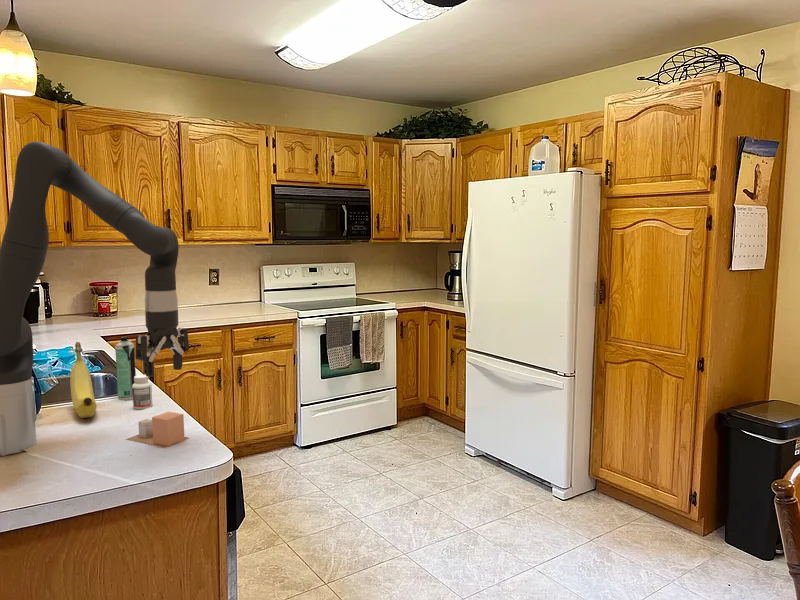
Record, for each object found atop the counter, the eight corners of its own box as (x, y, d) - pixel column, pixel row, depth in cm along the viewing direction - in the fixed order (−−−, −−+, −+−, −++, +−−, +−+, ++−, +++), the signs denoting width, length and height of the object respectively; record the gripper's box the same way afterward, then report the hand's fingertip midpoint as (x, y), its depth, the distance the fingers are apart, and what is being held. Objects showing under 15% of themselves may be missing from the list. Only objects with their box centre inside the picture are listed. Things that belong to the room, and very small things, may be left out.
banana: (101, 422, 164) (96, 352, 161) (77, 426, 161) (72, 354, 158) (91, 402, 182) (87, 340, 180) (70, 405, 179) (66, 342, 177)
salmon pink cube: (168, 446, 143) (167, 420, 143) (153, 442, 146) (151, 417, 145) (184, 439, 148) (183, 414, 147) (169, 436, 150) (168, 411, 149)
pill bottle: (136, 404, 180) (135, 374, 179) (154, 404, 181) (153, 373, 180) (130, 410, 175) (128, 378, 174) (149, 409, 175) (147, 378, 174)
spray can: (140, 397, 189) (137, 336, 186) (124, 401, 184) (121, 338, 182) (130, 394, 192) (127, 334, 189) (114, 398, 187) (111, 337, 185)
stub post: (146, 438, 149) (145, 423, 148) (139, 436, 150) (138, 421, 149) (154, 435, 151) (153, 420, 150) (147, 433, 152) (146, 419, 152)
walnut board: (165, 451, 142) (165, 448, 142) (125, 442, 148) (125, 439, 148) (190, 440, 149) (190, 437, 149) (151, 432, 155) (151, 429, 155)
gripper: (148, 312, 135) (151, 380, 137) (194, 306, 148) (196, 368, 150) (126, 310, 139) (129, 377, 141) (173, 304, 151) (175, 365, 153)
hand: (164, 372), depth 145 cm, fingers open, 8 cm apart
